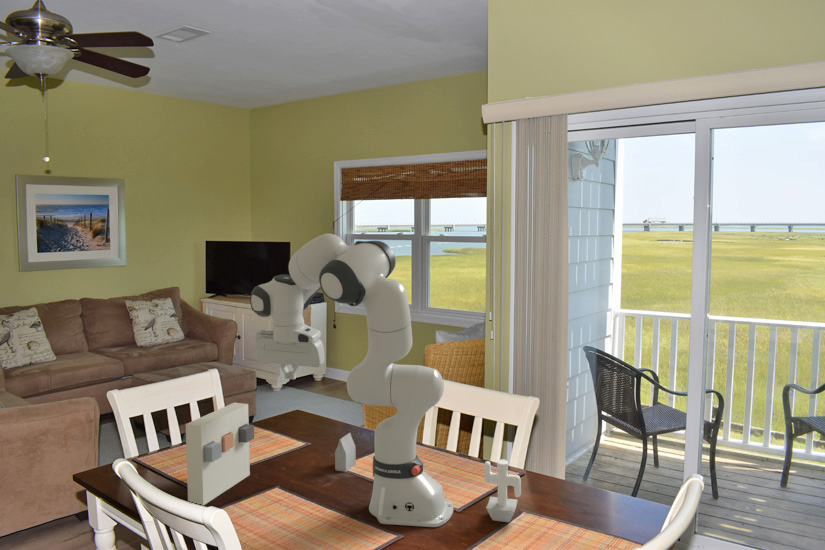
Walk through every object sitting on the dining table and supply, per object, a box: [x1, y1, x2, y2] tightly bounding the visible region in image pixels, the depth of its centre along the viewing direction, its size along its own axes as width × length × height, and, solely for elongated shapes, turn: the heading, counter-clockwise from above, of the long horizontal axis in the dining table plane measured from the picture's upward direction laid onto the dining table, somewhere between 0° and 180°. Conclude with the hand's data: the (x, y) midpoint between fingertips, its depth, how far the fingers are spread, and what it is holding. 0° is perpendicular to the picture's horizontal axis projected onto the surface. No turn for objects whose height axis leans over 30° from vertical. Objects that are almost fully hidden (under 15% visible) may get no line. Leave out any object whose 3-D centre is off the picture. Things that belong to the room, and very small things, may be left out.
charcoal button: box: [238, 424, 255, 443], centre depth 185 cm, size 4×4×4 cm
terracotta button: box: [222, 433, 234, 451], centre depth 178 cm, size 4×4×4 cm
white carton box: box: [334, 432, 357, 473], centre depth 194 cm, size 4×7×10 cm, turn 159°
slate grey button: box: [203, 442, 221, 462], centre depth 170 cm, size 4×4×4 cm
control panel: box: [185, 402, 251, 506], centre depth 178 cm, size 5×22×22 cm, turn 161°
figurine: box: [483, 458, 522, 523], centre depth 160 cm, size 7×9×15 cm
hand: (290, 378), depth 179 cm, fingers closed
